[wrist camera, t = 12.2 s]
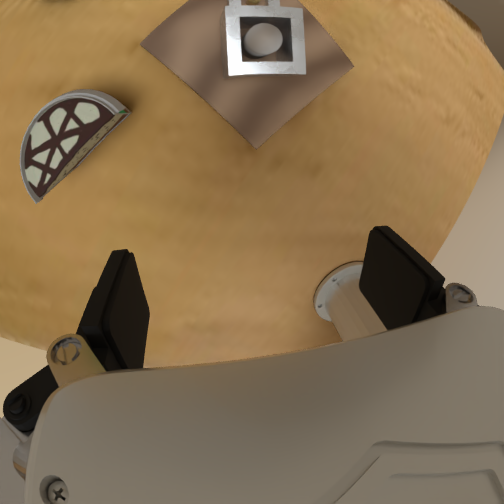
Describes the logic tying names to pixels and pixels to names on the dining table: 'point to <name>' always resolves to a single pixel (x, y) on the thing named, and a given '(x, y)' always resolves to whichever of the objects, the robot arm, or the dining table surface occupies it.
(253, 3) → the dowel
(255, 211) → the dining table surface
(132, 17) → the dining table surface
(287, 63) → the bracket
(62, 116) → the food container
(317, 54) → the post board
